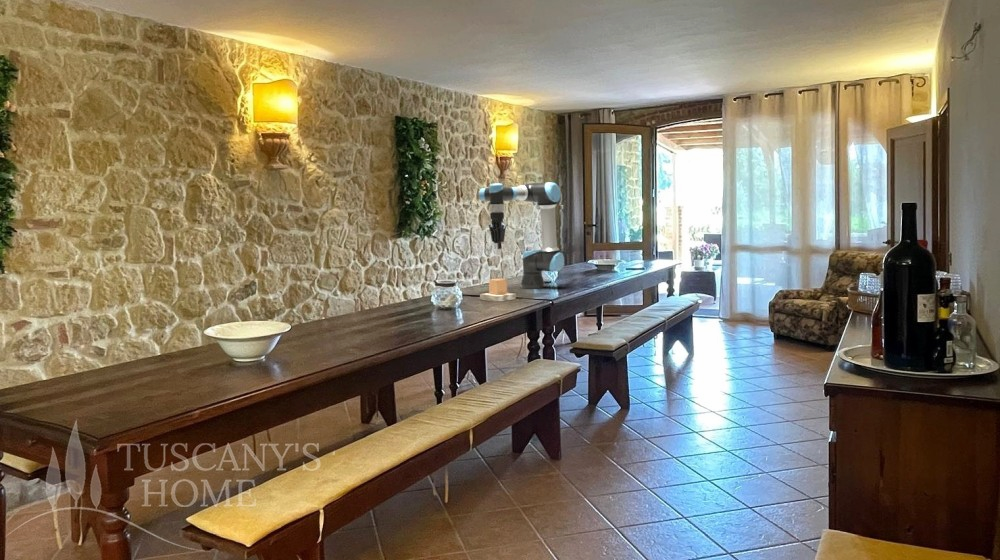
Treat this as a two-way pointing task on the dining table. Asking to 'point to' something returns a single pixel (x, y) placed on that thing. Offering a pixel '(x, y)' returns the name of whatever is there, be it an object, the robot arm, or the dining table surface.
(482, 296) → the hub
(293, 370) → the dining table surface
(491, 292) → the orange block
